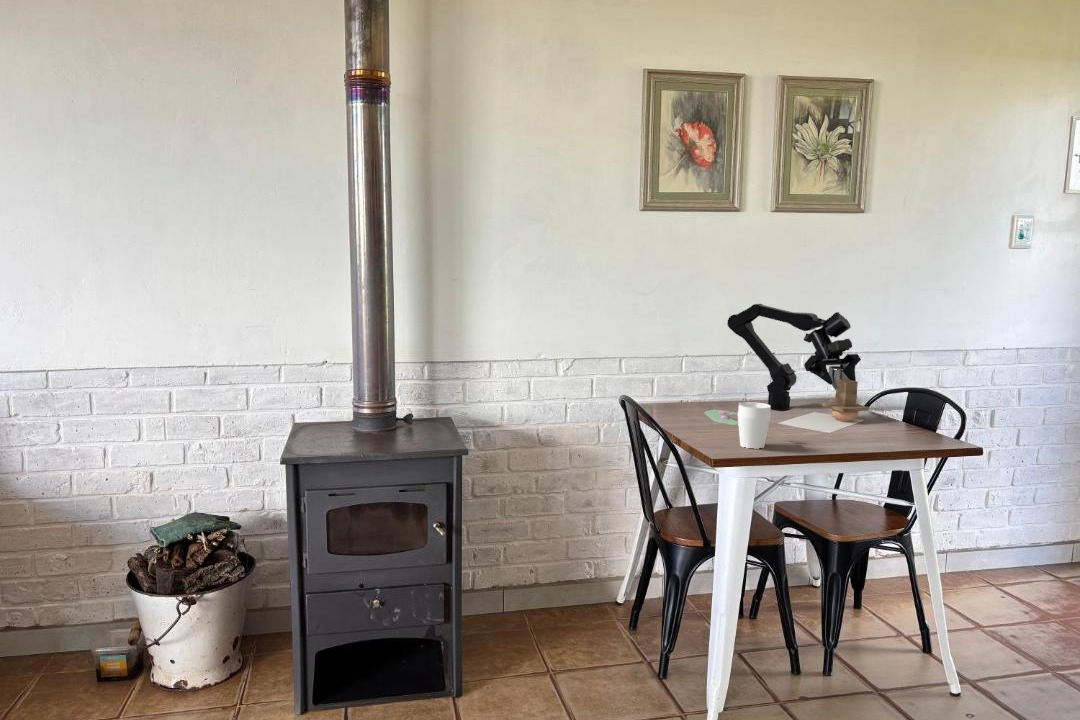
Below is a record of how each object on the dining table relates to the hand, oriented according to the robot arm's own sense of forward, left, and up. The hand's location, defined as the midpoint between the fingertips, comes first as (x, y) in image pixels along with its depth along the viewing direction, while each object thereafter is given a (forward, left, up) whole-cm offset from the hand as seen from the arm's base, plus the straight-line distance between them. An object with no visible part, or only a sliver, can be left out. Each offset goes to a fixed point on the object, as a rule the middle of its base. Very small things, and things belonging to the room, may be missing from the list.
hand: (843, 383), depth 259 cm
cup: (-3, -51, -13) cm, 53 cm away
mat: (-2, -9, -13) cm, 16 cm away
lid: (+2, -1, -8) cm, 8 cm away
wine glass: (-9, +19, -13) cm, 25 cm away
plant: (-27, -20, -14) cm, 37 cm away
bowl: (+2, -1, -12) cm, 12 cm away
